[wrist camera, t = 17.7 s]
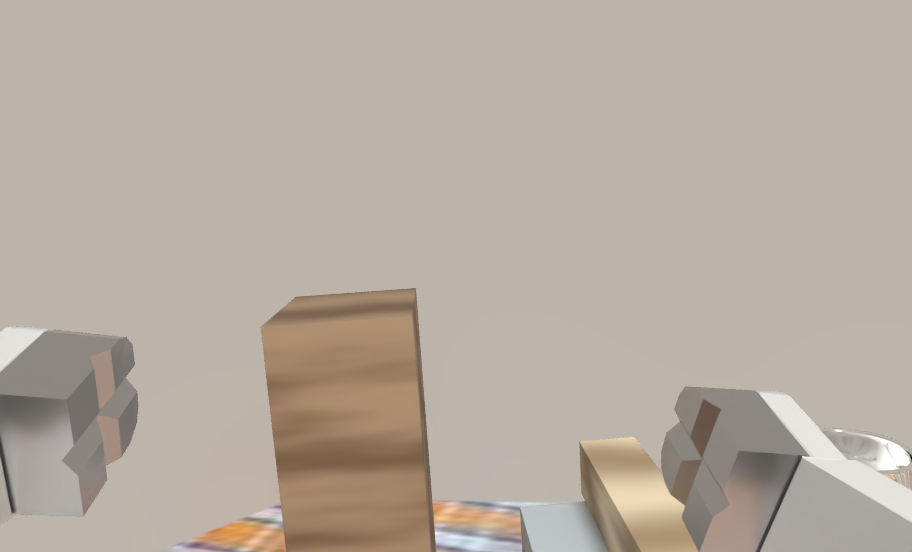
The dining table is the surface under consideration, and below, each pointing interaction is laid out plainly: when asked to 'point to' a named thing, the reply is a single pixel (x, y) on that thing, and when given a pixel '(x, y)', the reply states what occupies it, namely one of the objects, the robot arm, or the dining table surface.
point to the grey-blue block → (560, 529)
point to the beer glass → (874, 452)
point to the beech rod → (631, 498)
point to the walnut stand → (350, 423)
